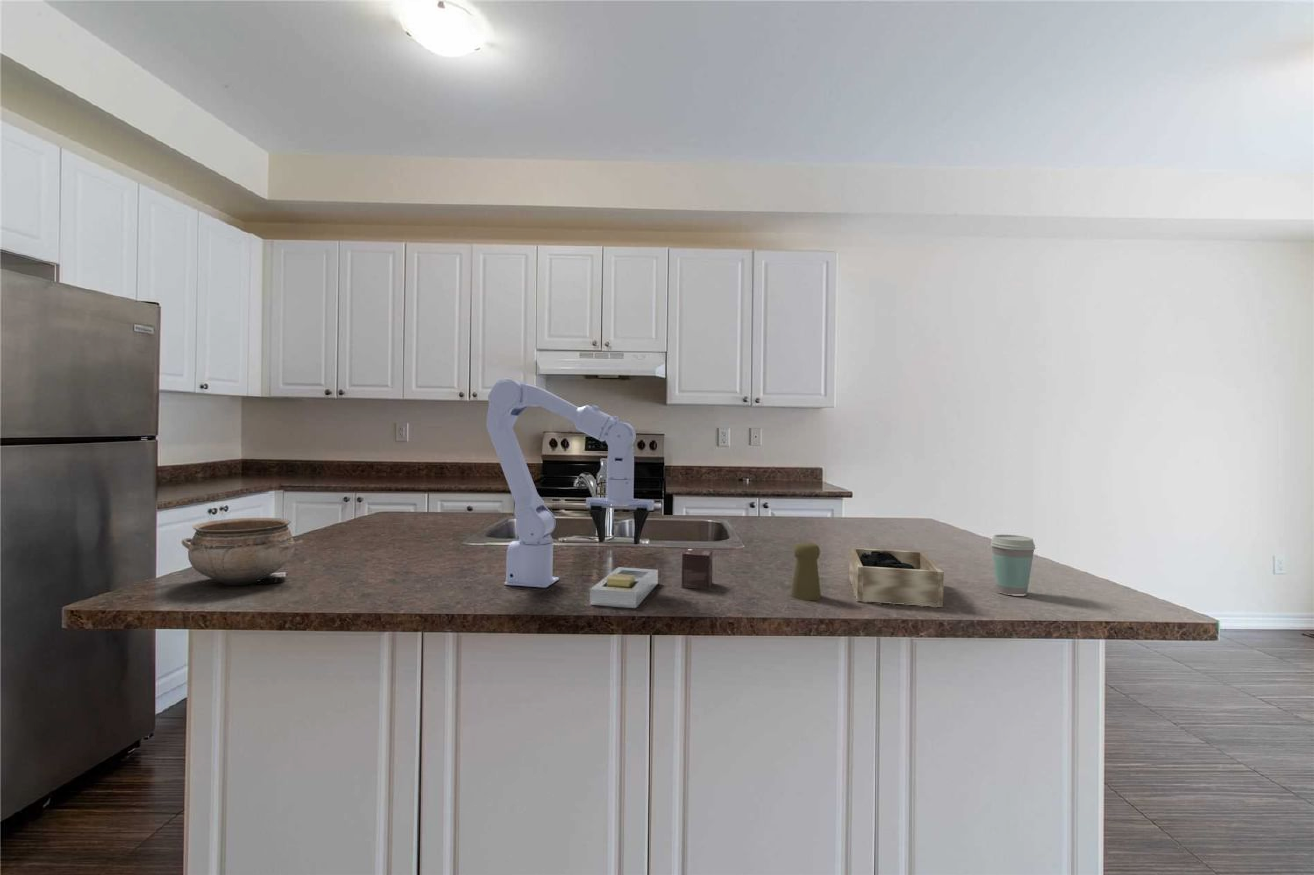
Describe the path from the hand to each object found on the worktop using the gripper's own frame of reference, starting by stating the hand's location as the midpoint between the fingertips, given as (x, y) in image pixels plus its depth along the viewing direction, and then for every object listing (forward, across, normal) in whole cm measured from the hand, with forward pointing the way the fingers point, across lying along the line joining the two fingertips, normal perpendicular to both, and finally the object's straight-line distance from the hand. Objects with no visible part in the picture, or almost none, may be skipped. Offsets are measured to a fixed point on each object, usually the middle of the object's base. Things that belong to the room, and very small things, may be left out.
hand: (619, 542), depth 141 cm
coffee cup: (+10, +82, +18) cm, 84 cm away
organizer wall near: (+9, +57, +2) cm, 58 cm away
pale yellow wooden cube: (+10, +3, -9) cm, 14 cm away
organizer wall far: (+9, +57, +22) cm, 62 cm away
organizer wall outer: (+9, +64, +12) cm, 66 cm away
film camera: (+10, +57, +10) cm, 58 cm away
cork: (+10, +39, +3) cm, 40 cm away
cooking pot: (+10, -77, -18) cm, 80 cm away
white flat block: (+9, +3, -5) cm, 11 cm away
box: (+10, +16, +6) cm, 20 cm away
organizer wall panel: (+9, +50, +12) cm, 52 cm away
